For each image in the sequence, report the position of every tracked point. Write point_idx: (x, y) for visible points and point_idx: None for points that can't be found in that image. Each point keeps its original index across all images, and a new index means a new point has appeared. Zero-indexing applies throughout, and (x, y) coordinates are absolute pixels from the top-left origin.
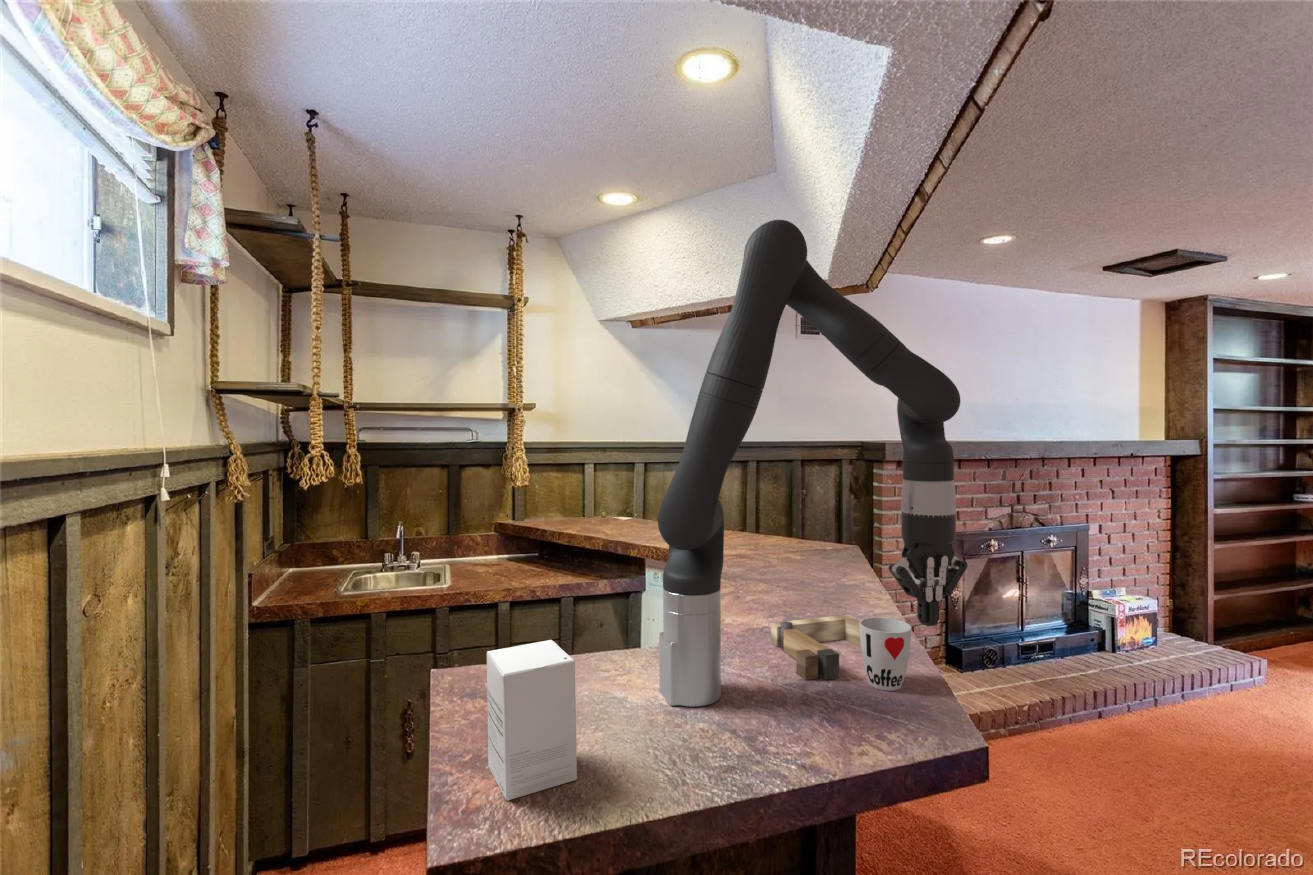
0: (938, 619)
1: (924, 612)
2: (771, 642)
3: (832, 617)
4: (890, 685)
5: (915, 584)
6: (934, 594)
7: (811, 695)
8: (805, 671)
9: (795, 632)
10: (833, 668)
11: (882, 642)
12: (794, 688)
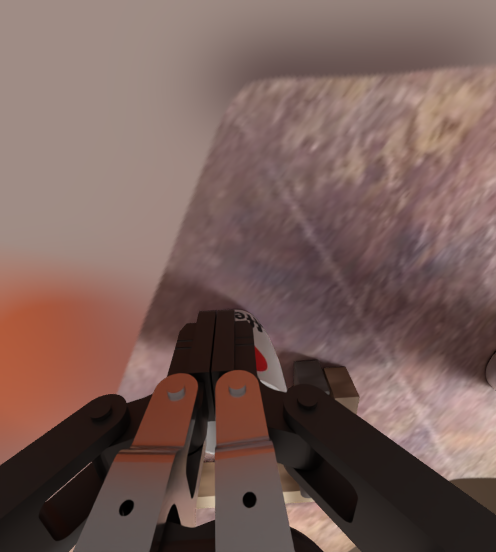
0: (186, 326)
1: (250, 346)
2: None
3: (206, 504)
4: (243, 313)
5: (358, 464)
6: (195, 407)
7: (372, 324)
8: (350, 377)
9: None
10: (308, 373)
11: (270, 368)
12: (379, 348)
